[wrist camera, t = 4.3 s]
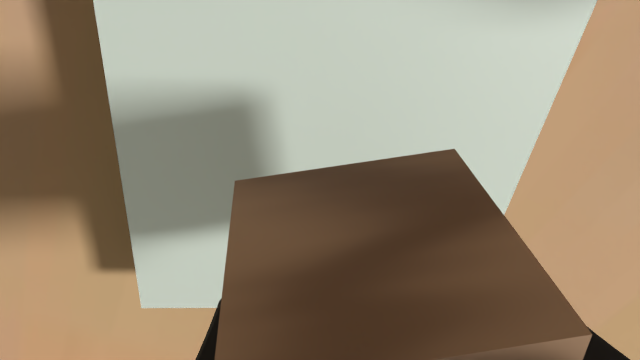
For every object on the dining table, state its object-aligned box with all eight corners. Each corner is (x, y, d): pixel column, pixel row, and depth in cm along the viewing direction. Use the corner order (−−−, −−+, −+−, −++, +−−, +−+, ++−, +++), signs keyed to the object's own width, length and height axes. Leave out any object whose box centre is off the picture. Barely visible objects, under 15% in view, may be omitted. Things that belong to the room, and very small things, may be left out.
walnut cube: (454, 148, 10) (592, 334, 6) (443, 298, 13) (530, 496, 8) (234, 180, 10) (210, 394, 6) (272, 324, 12) (275, 539, 8)
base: (560, -41, 14) (610, -30, 12) (445, 267, 22) (464, 306, 20) (109, -99, 12) (77, -97, 10) (154, 264, 20) (141, 307, 18)
